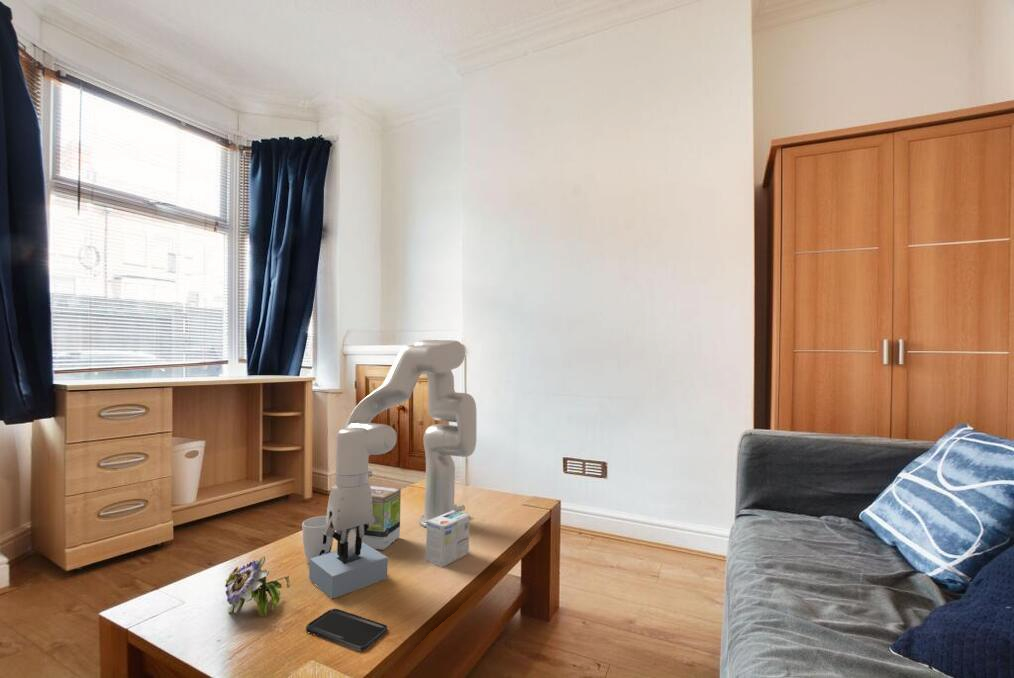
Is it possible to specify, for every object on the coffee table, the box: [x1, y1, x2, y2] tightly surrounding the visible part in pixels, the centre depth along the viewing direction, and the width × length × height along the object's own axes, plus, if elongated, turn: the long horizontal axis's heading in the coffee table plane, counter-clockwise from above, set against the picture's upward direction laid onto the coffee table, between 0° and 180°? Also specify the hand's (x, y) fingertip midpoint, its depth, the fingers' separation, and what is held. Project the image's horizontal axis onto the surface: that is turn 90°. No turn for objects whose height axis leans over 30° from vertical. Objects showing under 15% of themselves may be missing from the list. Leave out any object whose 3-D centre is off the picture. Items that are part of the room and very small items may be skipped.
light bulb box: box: [425, 510, 471, 568], centre depth 124 cm, size 11×7×11 cm, turn 145°
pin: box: [343, 527, 357, 564], centre depth 111 cm, size 3×3×10 cm
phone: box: [305, 608, 388, 652], centre depth 91 cm, size 8×1×15 cm
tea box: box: [362, 485, 402, 551], centre depth 134 cm, size 15×10×15 cm
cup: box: [301, 515, 335, 564], centre depth 121 cm, size 8×8×10 cm
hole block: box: [308, 543, 389, 600], centre depth 111 cm, size 14×12×5 cm
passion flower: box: [224, 555, 291, 618], centre depth 99 cm, size 11×11×12 cm
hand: (349, 554), depth 111 cm, fingers closed on pin, 2 cm apart
